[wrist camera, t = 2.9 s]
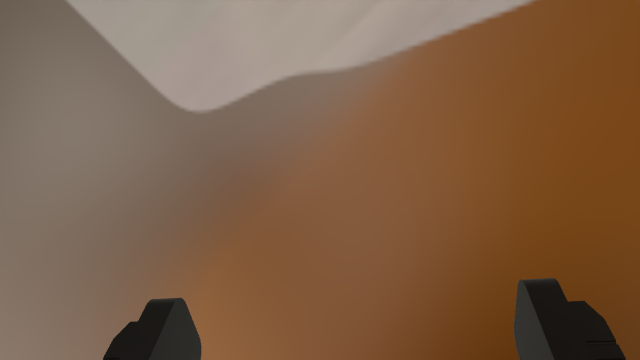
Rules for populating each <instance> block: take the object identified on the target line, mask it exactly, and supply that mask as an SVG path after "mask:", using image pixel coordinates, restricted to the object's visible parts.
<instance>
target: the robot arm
mask: <svg viewBox="0 0 640 360" xmlns="http://www.w3.org/2000/svg"><path fill="white" fill-rule="evenodd" d="M514 335H515V343H516V348H517V352H518V355H519V358H520V360H626V358H625V356H624V354H623V352H622V351H621V349H620V347H619V345H617V344H616V339H615V338H614V336H613V334H612V332H611V330H610V329H609V327H608V325H607V323H606V321H605V320H604V318H603V317H602V316H601V315H599V314H598V313H597V312H596V311H595V310H594V309H593V308H592V307H590V306H589V305H588V304H587V303H586V302H585V301H571V302H568V301H567V299H566V297H565V295H564V293H563V291H562V289H561V287H560V285H559V283H558V281H557V280H556V279H555V278H548V279H527V280H520V281H519V283H518V288H517V300H516V310H515V321H514ZM200 359H201V342H200V338H199V335H198V332H197V330H196V327H195V325H194V322H193V320H192V317H191V315H190V312H189V310H188V307H187V305H186V303H185V301H184V300H183V299H182V298H169V299H152V300H150V301H149V302H148V303H147V305H146V307H145V309H144V311H143V313H142V315H141V317H140V319H139V321H137V322H130V323H129V324H128V325H127V326H126V327H125V328H124V329H123V330H122V331H121V332H120V333H119V334H118V335H117V336H116V337H115V338H114V339H113V341H112V342H111V344H110V346H109V348H108V350H107V352H106V354H105V355H104V358H103V360H200Z"/></svg>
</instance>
